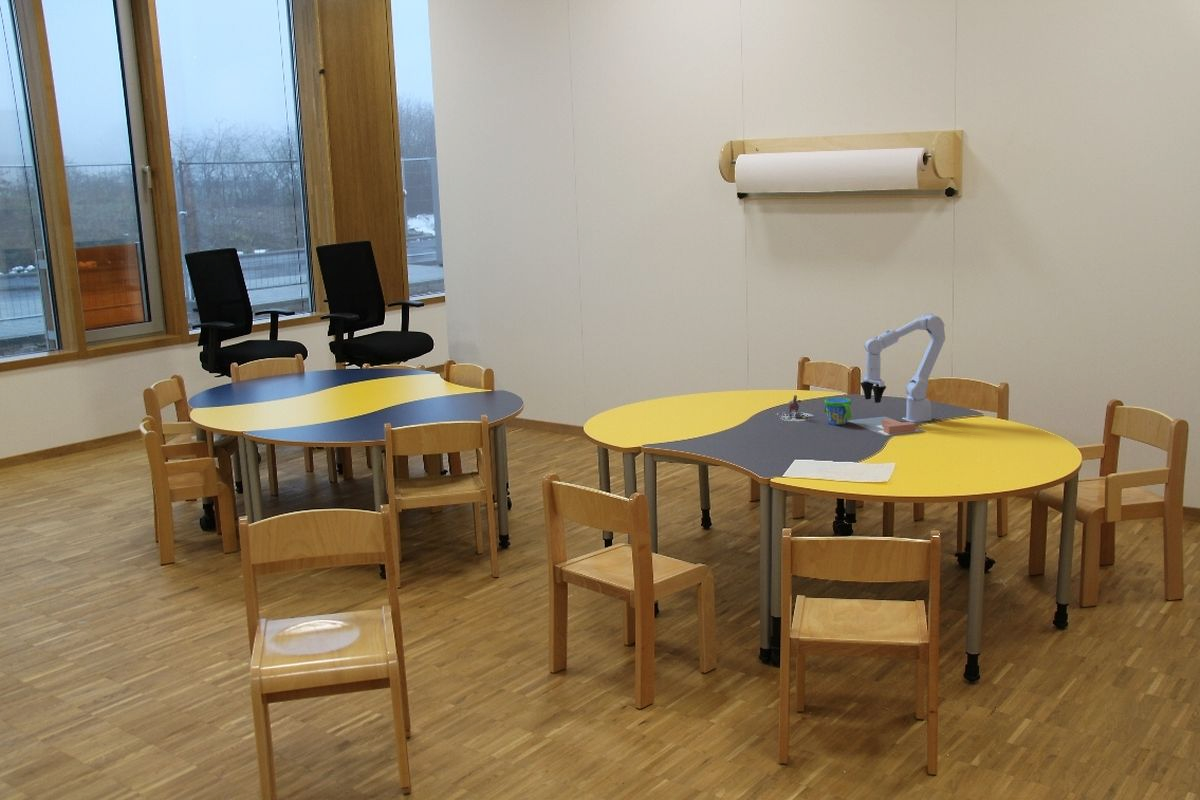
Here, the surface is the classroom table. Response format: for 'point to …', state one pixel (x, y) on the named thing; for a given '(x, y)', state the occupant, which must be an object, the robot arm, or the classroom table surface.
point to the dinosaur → (794, 406)
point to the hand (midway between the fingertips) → (872, 400)
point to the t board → (879, 426)
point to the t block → (897, 426)
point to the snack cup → (837, 410)
